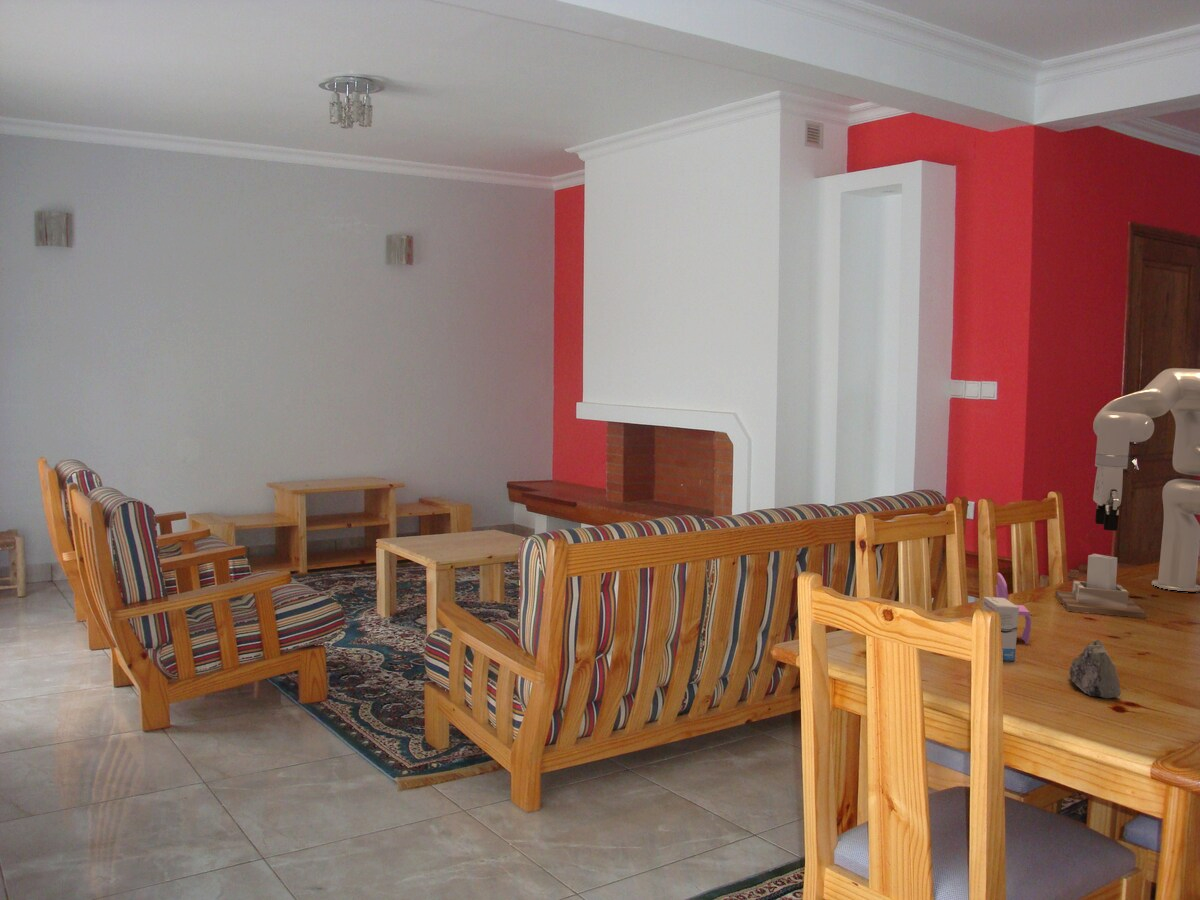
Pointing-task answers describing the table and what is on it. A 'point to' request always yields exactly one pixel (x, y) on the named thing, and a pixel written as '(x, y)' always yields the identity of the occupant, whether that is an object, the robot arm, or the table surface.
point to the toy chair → (1002, 593)
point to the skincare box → (1101, 572)
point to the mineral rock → (1095, 672)
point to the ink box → (1005, 623)
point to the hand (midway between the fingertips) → (1106, 527)
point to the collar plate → (1099, 601)
